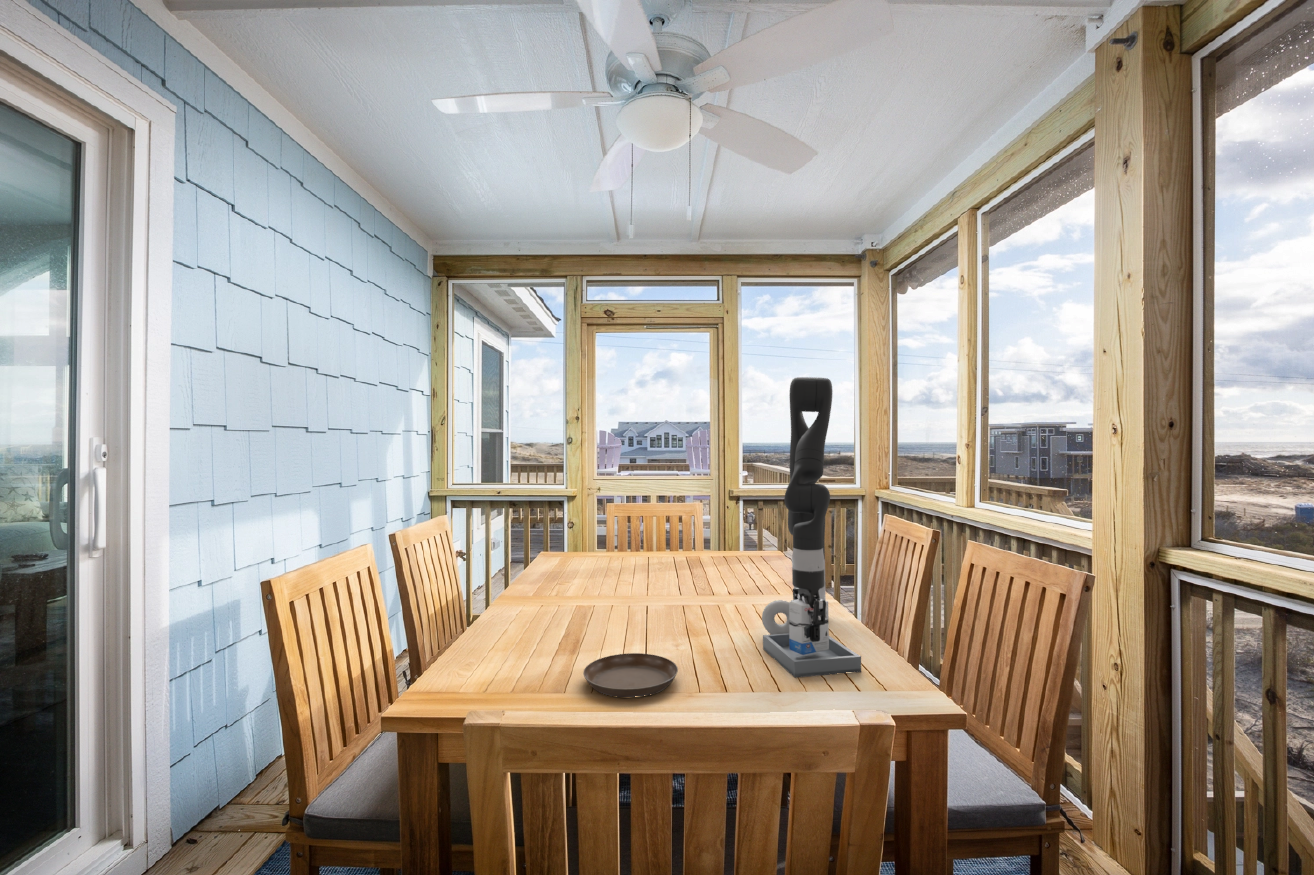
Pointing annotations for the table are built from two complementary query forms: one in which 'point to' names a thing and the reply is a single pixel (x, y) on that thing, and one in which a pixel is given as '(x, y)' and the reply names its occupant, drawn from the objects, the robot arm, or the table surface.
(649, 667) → the plant saucer
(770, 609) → the donut
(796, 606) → the ink box
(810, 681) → the table surface
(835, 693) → the table surface
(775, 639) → the tray
